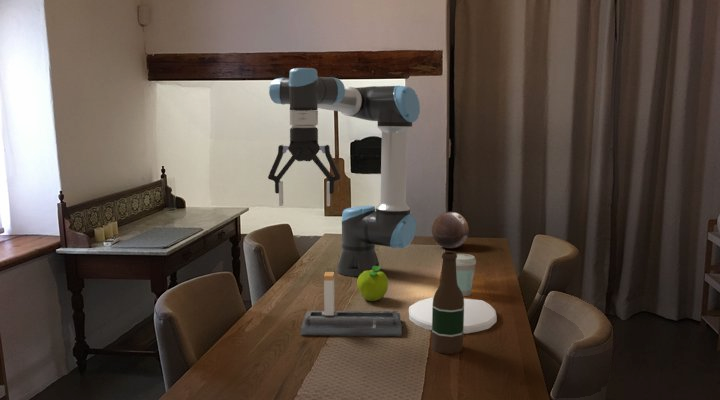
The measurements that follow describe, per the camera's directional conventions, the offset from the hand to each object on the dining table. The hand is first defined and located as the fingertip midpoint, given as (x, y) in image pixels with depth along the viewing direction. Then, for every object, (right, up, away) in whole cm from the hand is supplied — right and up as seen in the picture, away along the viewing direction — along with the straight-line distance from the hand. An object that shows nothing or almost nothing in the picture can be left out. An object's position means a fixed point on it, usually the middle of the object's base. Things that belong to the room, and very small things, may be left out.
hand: (304, 205), depth 175 cm
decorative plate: (+41, -32, +4) cm, 52 cm away
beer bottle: (+37, -35, -19) cm, 54 cm away
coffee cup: (+47, -28, +25) cm, 60 cm away
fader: (+7, -30, -5) cm, 31 cm away
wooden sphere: (+52, -18, +87) cm, 103 cm away
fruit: (+19, -29, +19) cm, 40 cm away
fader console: (+13, -33, -4) cm, 35 cm away
